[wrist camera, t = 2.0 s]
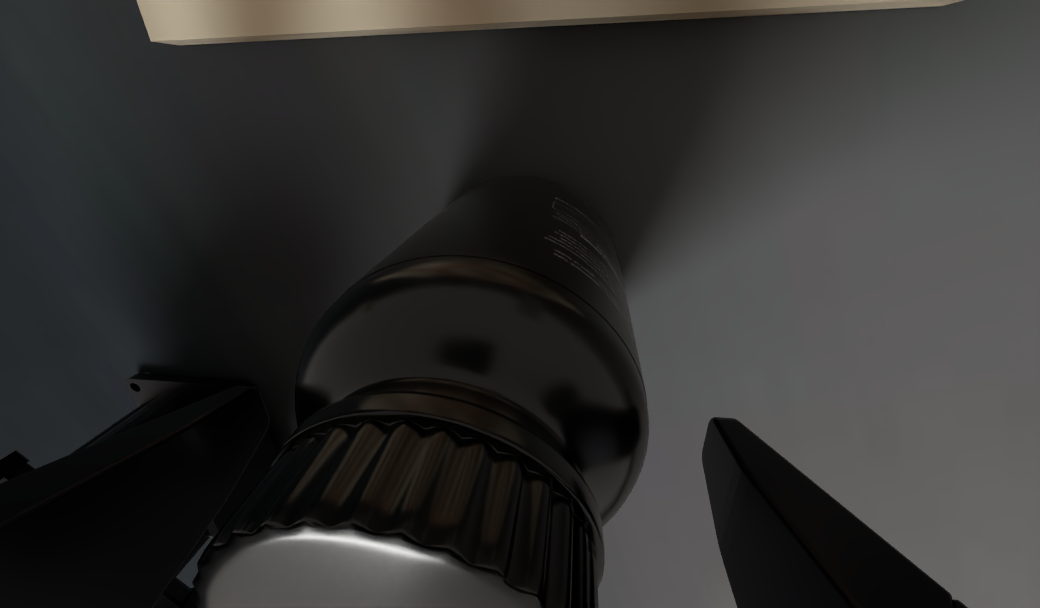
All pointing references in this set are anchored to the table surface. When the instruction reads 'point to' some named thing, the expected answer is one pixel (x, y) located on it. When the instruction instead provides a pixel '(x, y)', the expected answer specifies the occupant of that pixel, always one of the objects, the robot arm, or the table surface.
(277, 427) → the table surface
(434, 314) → the supplement bottle
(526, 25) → the birch board
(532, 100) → the table surface
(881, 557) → the robot arm
